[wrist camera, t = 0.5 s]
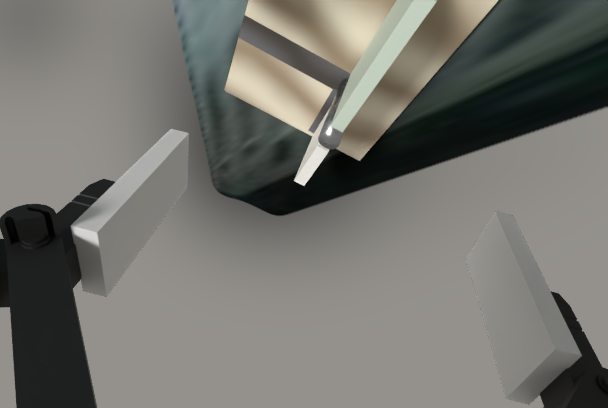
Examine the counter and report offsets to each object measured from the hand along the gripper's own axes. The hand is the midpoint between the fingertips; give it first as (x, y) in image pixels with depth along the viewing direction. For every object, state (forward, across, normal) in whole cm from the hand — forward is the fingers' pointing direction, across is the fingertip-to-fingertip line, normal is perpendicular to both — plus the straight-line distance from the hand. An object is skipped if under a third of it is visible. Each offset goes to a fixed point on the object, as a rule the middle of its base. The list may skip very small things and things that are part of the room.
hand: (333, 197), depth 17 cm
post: (+26, 0, -3) cm, 26 cm away
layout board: (+25, -2, 0) cm, 25 cm away
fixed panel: (+27, -1, -8) cm, 28 cm away
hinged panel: (+22, +2, +4) cm, 23 cm away
